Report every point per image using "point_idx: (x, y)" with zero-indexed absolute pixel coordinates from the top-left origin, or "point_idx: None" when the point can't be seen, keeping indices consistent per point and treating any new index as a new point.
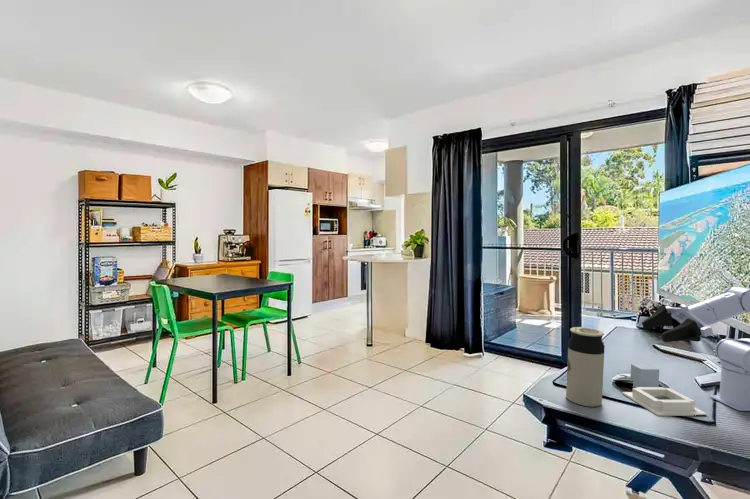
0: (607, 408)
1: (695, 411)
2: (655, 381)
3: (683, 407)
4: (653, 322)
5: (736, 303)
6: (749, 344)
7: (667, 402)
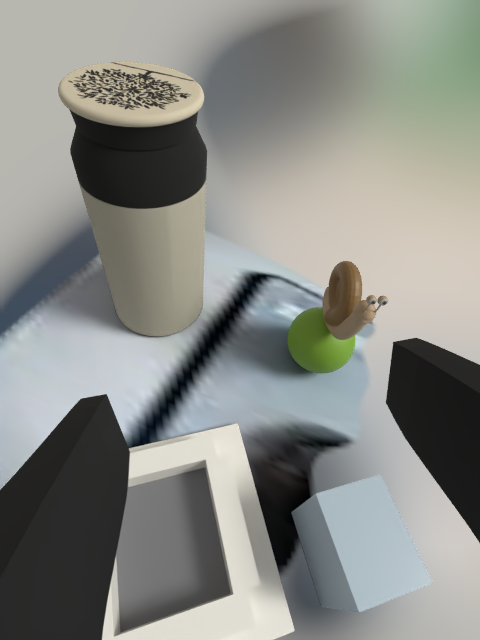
0: (115, 340)
1: None
2: (327, 586)
3: None
4: (464, 449)
5: None
6: None
7: None
